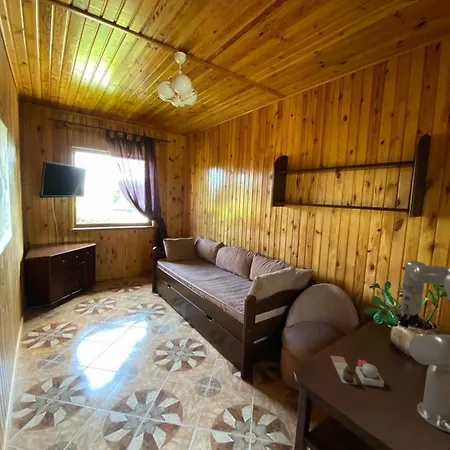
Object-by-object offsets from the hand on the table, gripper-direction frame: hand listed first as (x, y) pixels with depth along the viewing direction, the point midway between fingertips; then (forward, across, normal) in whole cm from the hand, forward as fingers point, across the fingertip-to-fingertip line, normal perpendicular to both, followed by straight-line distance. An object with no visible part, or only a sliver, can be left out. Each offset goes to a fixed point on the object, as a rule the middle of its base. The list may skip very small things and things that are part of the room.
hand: (408, 324), depth 115 cm
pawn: (+26, -25, +12) cm, 38 cm away
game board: (+27, -20, +18) cm, 38 cm away
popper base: (+27, -14, +10) cm, 32 cm away
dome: (+25, -16, +7) cm, 30 cm away
